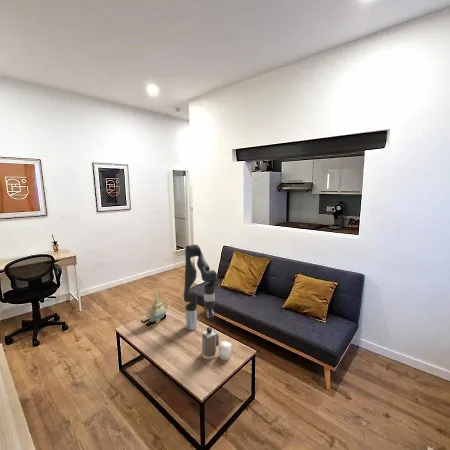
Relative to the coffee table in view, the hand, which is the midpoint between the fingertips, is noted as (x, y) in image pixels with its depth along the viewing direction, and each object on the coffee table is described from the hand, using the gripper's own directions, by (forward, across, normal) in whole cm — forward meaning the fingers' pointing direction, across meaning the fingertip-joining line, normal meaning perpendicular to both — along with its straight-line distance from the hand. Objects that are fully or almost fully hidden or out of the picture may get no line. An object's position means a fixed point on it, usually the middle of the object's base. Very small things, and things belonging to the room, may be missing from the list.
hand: (209, 321), depth 176 cm
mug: (+25, +8, +8) cm, 28 cm away
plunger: (+23, 0, 0) cm, 23 cm away
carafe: (+25, 0, 0) cm, 25 cm away
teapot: (+26, -60, -18) cm, 68 cm away
